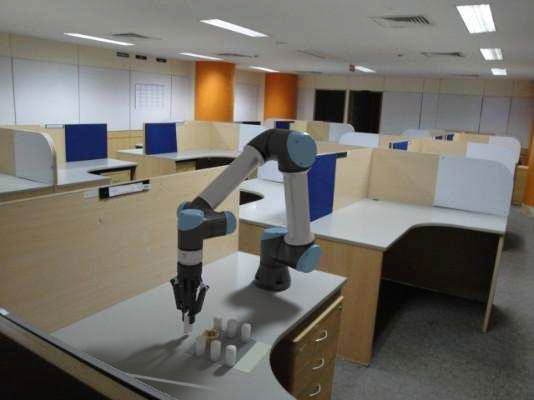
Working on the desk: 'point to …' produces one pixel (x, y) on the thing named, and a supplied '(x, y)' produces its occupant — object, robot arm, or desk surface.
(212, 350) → the spacer field
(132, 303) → the desk surface
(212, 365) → the desk surface
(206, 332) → the nut
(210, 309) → the desk surface
